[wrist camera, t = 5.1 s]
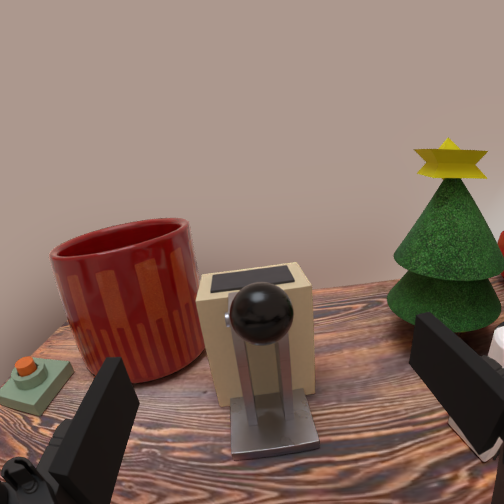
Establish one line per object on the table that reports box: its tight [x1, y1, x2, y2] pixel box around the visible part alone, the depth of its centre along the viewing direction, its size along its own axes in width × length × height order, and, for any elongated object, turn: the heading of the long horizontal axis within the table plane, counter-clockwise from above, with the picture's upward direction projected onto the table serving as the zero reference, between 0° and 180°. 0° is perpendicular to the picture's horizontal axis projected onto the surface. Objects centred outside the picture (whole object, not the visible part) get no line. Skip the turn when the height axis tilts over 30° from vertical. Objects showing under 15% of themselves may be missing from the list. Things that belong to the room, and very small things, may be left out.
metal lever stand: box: [225, 286, 320, 461], centre depth 31 cm, size 12×9×16 cm
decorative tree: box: [387, 138, 504, 338], centre depth 39 cm, size 19×19×30 cm
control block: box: [0, 357, 74, 416], centre depth 38 cm, size 12×10×4 cm
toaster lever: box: [230, 282, 294, 346], centre depth 23 cm, size 15×4×4 cm, turn 4°
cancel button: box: [15, 356, 37, 377], centre depth 37 cm, size 4×4×2 cm
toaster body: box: [196, 262, 315, 407], centre depth 38 cm, size 8×12×15 cm, turn 94°
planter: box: [49, 218, 205, 383], centre depth 48 cm, size 23×23×20 cm
